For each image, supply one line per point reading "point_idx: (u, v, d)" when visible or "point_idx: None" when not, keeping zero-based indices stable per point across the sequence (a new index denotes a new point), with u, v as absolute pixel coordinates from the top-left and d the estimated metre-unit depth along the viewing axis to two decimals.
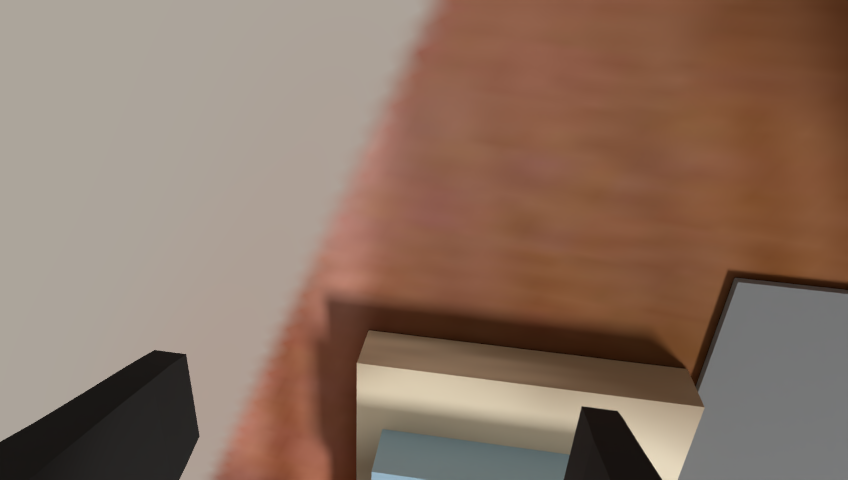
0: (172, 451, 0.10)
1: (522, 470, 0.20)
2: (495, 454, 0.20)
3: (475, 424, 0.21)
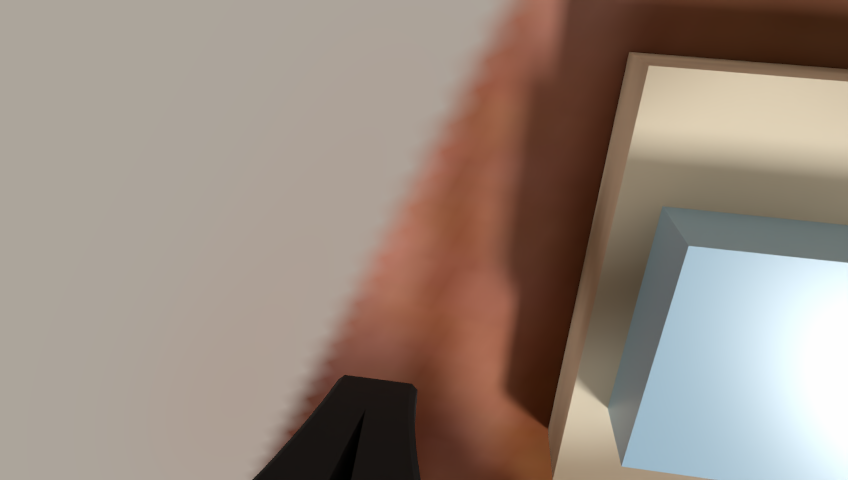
0: None
1: None
2: None
3: (837, 185, 0.12)
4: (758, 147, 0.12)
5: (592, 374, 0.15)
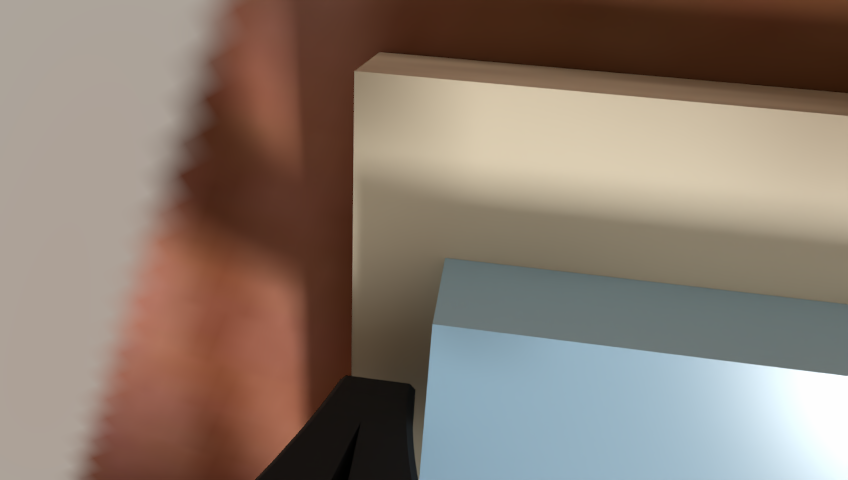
0: None
1: (789, 330, 0.08)
2: (709, 302, 0.09)
3: (621, 230, 0.09)
4: (513, 180, 0.09)
5: None
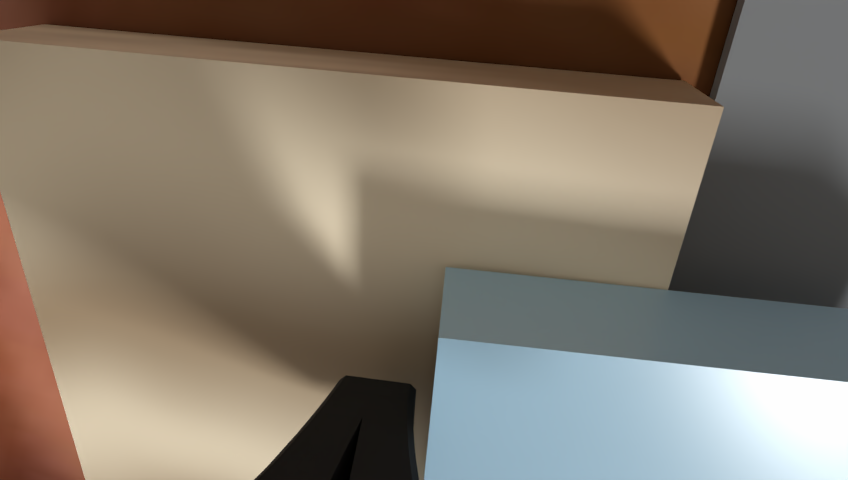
0: None
1: (789, 336, 0.08)
2: (710, 309, 0.09)
3: (231, 188, 0.10)
4: (123, 140, 0.10)
5: (80, 410, 0.13)
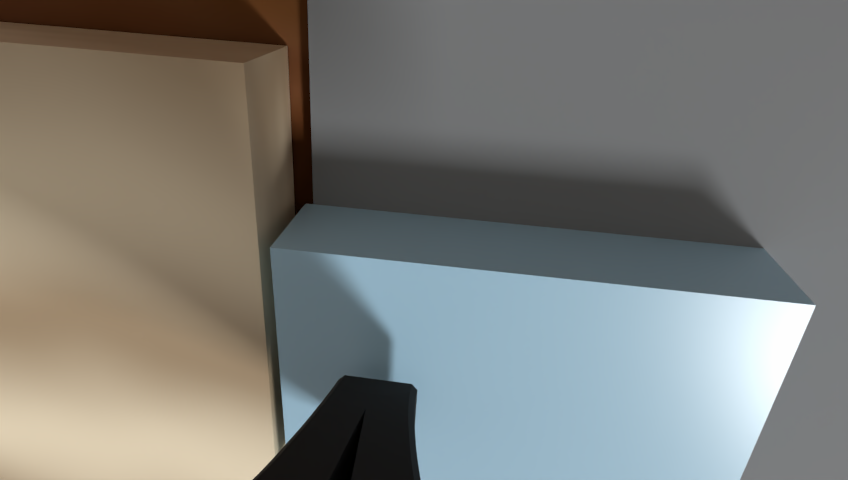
0: None
1: (570, 252, 0.10)
2: (516, 234, 0.11)
3: None
4: None
5: None
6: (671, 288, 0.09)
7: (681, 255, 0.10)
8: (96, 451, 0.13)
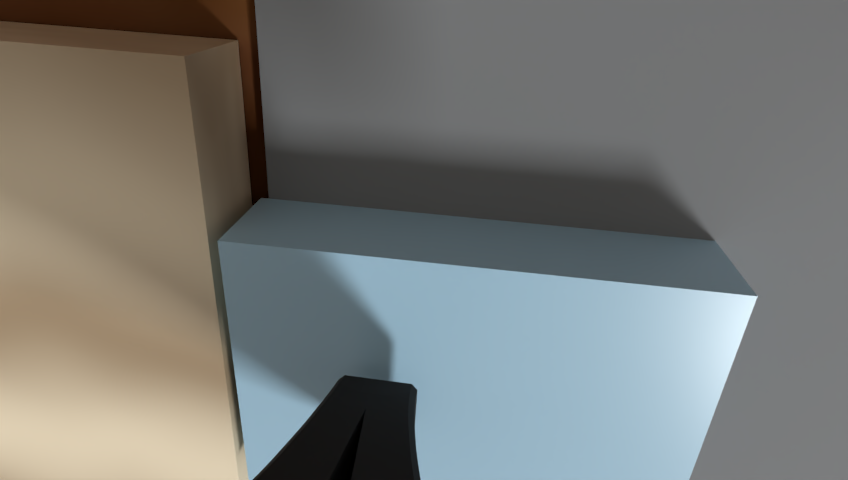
0: None
1: (519, 245, 0.10)
2: (467, 227, 0.11)
3: None
4: None
5: None
6: (615, 279, 0.09)
7: (630, 247, 0.10)
8: (59, 445, 0.13)
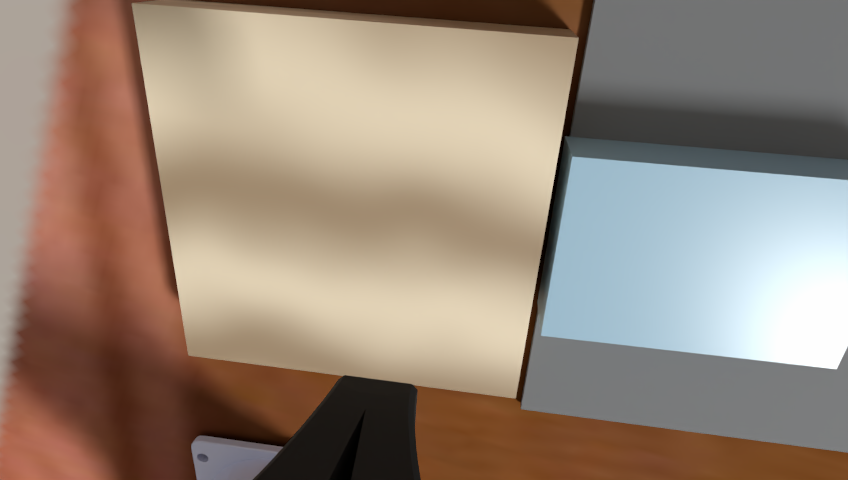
0: None
1: (758, 161, 0.16)
2: (715, 153, 0.16)
3: (293, 96, 0.16)
4: (228, 66, 0.16)
5: (183, 259, 0.19)
6: (832, 178, 0.15)
7: (828, 164, 0.16)
8: (396, 315, 0.19)
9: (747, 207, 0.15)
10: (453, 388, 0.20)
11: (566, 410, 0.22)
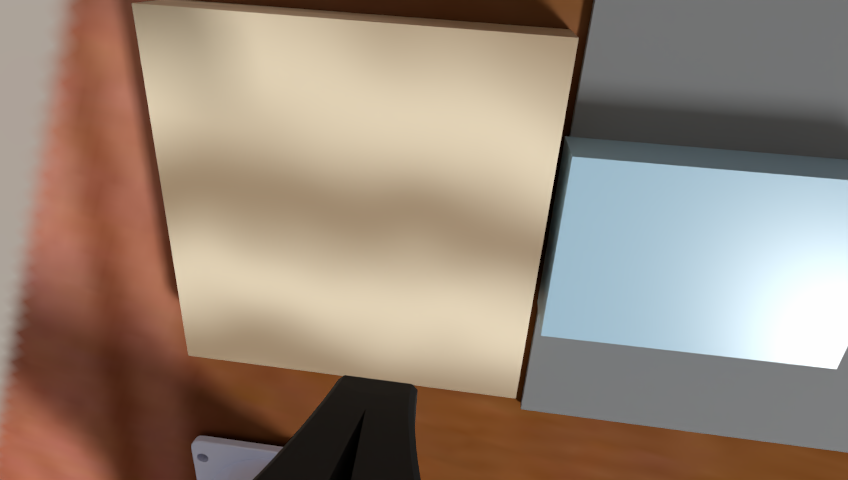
0: None
1: (758, 161, 0.16)
2: (715, 153, 0.16)
3: (293, 96, 0.16)
4: (228, 66, 0.16)
5: (183, 259, 0.19)
6: (832, 178, 0.15)
7: (828, 164, 0.16)
8: (396, 315, 0.19)
9: (747, 207, 0.15)
10: (453, 388, 0.20)
11: (566, 410, 0.22)
